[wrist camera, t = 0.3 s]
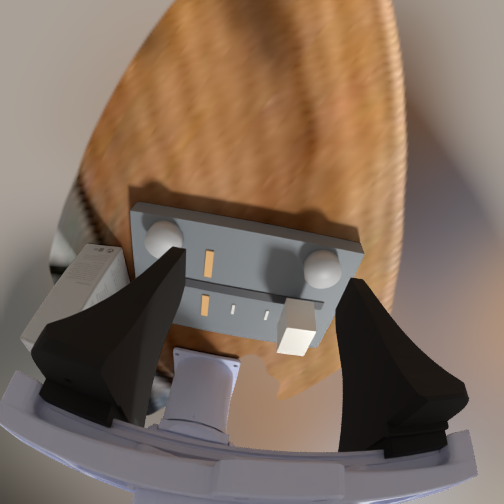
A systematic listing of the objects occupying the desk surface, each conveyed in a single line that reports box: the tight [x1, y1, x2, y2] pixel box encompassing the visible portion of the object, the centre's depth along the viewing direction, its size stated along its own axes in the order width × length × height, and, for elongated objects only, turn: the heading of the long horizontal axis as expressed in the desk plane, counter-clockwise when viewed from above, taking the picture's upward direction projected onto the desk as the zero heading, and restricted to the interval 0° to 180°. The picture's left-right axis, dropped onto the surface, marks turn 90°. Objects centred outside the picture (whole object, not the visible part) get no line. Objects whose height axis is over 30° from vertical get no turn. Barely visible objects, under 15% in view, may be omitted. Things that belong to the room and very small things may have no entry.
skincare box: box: [20, 244, 130, 353], centre depth 22 cm, size 6×4×12 cm
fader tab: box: [277, 298, 316, 356], centre depth 23 cm, size 3×2×4 cm
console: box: [130, 202, 364, 348], centre depth 25 cm, size 12×18×3 cm, turn 80°
